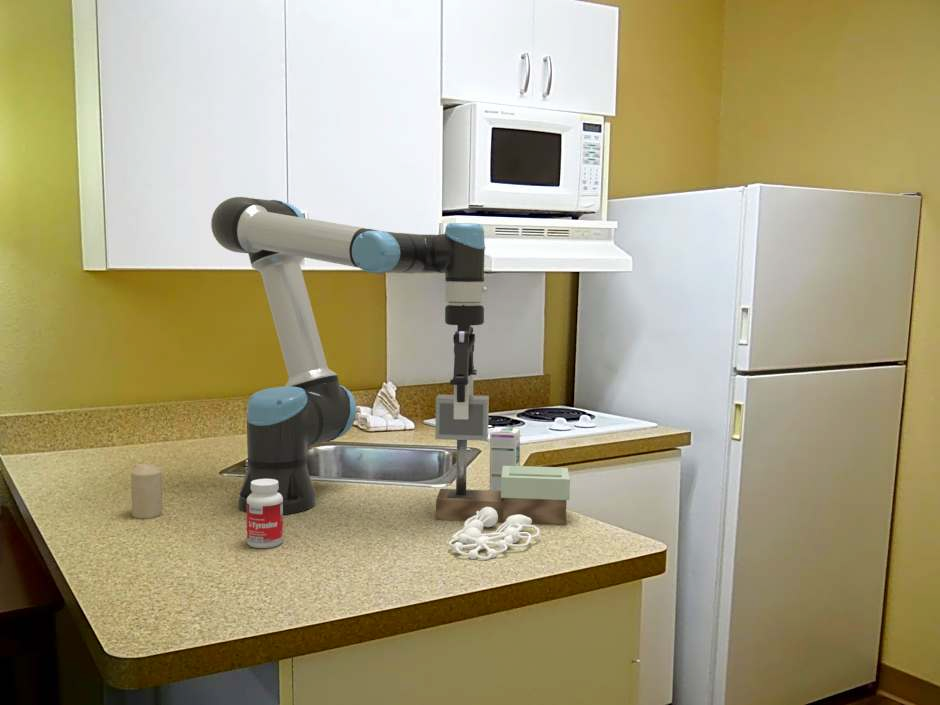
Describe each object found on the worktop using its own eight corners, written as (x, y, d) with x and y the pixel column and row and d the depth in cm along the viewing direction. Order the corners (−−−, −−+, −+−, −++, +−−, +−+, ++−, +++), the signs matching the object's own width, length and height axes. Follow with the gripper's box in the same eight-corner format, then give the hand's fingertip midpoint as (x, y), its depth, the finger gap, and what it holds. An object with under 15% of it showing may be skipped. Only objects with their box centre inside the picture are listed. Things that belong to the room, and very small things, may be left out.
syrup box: (515, 500, 178) (517, 432, 176) (488, 498, 179) (489, 430, 177) (519, 493, 183) (521, 427, 182) (493, 491, 184) (494, 425, 183)
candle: (168, 512, 164) (167, 462, 163) (149, 520, 159) (148, 468, 158) (145, 509, 166) (144, 459, 165) (125, 517, 161) (124, 465, 160)
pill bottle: (243, 549, 144) (243, 486, 143) (249, 538, 150) (249, 477, 149) (280, 549, 144) (280, 486, 143) (285, 537, 150) (285, 477, 149)
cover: (500, 497, 161) (501, 475, 160) (502, 485, 170) (502, 463, 170) (569, 500, 160) (569, 477, 159) (567, 487, 169) (567, 465, 169)
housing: (435, 519, 163) (436, 494, 162) (440, 507, 171) (440, 483, 170) (565, 524, 161) (566, 499, 161) (563, 512, 169) (564, 488, 168)
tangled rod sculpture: (505, 575, 138) (507, 551, 137) (428, 553, 144) (430, 530, 143) (548, 538, 155) (550, 517, 154) (477, 521, 161) (479, 500, 161)
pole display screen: (434, 496, 164) (435, 398, 162) (437, 489, 169) (438, 394, 167) (485, 498, 163) (487, 399, 161) (486, 491, 168) (488, 395, 166)
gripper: (480, 307, 150) (479, 424, 152) (487, 302, 174) (486, 403, 176) (438, 306, 150) (437, 424, 152) (451, 301, 175) (450, 402, 177)
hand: (463, 413), depth 164 cm, fingers open, 13 cm apart
